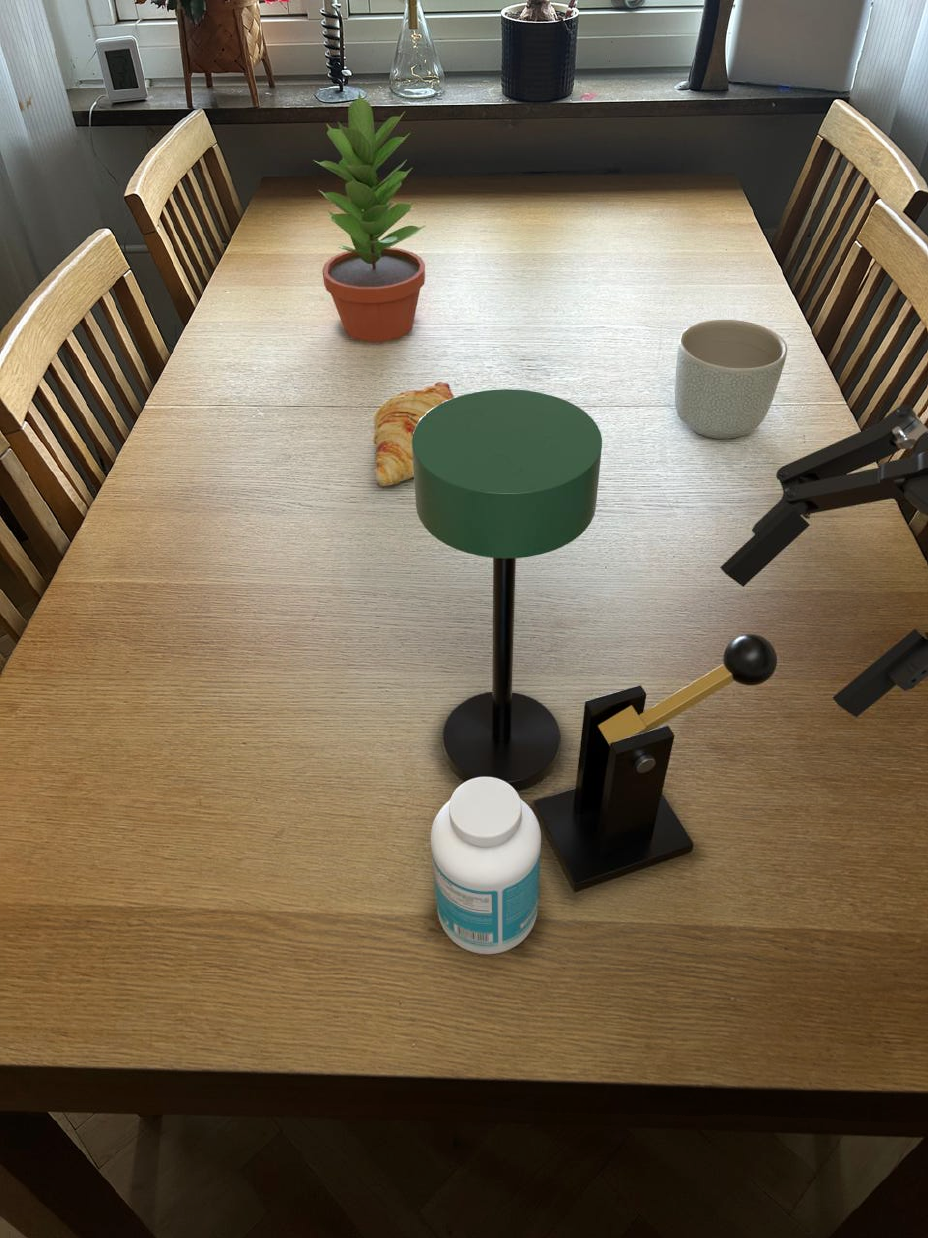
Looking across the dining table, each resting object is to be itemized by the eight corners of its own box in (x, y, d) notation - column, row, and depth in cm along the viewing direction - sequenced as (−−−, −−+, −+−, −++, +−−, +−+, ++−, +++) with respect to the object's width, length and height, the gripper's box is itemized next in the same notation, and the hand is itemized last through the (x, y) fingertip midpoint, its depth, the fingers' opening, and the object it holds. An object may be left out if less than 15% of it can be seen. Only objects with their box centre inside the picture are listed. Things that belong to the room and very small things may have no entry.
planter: (777, 451, 112) (799, 369, 104) (674, 451, 112) (688, 369, 104) (756, 397, 121) (774, 318, 113) (660, 398, 121) (672, 319, 113)
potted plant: (350, 360, 130) (325, 126, 109) (316, 315, 140) (287, 94, 119) (447, 337, 134) (441, 108, 113) (408, 296, 144) (395, 79, 123)
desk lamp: (594, 778, 77) (636, 468, 56) (459, 821, 75) (447, 511, 53) (538, 679, 86) (555, 375, 64) (413, 714, 83) (388, 408, 61)
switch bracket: (643, 774, 78) (665, 660, 68) (691, 852, 72) (723, 740, 63) (532, 809, 75) (539, 696, 66) (574, 893, 70) (588, 782, 60)
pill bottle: (519, 856, 72) (523, 748, 63) (551, 943, 67) (561, 838, 58) (425, 881, 71) (416, 773, 61) (451, 971, 66) (445, 868, 56)
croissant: (408, 522, 108) (436, 478, 102) (333, 477, 107) (357, 429, 101) (463, 424, 122) (490, 381, 117) (398, 383, 121) (422, 337, 115)
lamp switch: (762, 642, 67) (753, 615, 64) (791, 677, 64) (783, 649, 62) (605, 737, 68) (590, 714, 65) (628, 774, 66) (613, 752, 63)
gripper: (1237, 549, 51) (924, 788, 58) (930, 347, 68) (717, 551, 75) (1217, 491, 46) (878, 760, 53) (892, 289, 64) (667, 513, 70)
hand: (783, 638), depth 64 cm, fingers open, 13 cm apart
